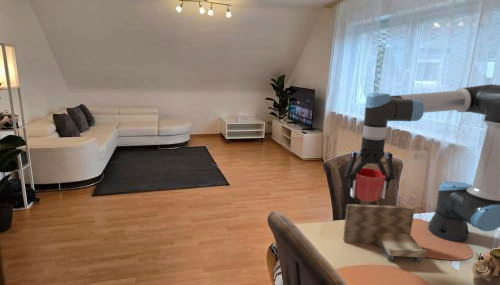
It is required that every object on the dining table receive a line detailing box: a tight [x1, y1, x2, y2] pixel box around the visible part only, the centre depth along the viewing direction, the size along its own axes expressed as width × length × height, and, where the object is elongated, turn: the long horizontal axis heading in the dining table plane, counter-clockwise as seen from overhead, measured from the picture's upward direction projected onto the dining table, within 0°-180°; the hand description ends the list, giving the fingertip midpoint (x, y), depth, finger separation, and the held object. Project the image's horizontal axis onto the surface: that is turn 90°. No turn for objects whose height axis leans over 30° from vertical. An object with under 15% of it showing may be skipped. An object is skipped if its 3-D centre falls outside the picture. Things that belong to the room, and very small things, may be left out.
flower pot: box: [354, 167, 386, 202], centre depth 116 cm, size 11×11×10 cm
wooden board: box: [342, 203, 415, 245], centre depth 129 cm, size 26×2×16 cm, turn 88°
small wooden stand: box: [376, 233, 428, 263], centre depth 122 cm, size 13×14×6 cm
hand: (367, 196), depth 117 cm, fingers closed on flower pot, 10 cm apart
